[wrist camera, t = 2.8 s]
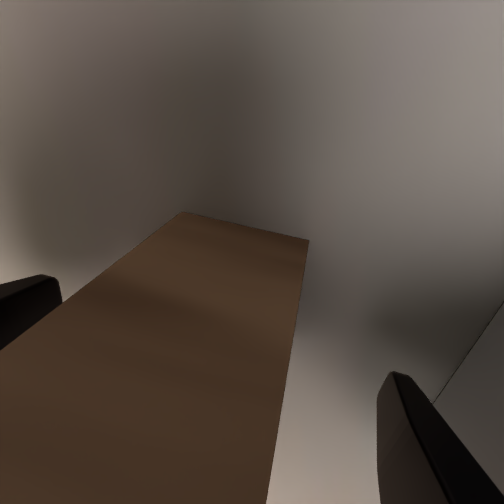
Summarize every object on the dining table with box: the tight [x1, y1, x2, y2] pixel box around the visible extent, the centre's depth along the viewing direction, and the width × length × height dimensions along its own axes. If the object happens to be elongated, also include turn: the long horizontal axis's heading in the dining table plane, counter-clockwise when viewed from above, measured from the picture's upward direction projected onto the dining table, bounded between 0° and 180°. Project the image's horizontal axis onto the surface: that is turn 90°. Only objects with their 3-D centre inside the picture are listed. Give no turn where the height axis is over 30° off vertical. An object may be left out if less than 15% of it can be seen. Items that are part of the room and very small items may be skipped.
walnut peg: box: [0, 212, 309, 504], centre depth 7 cm, size 4×4×8 cm
